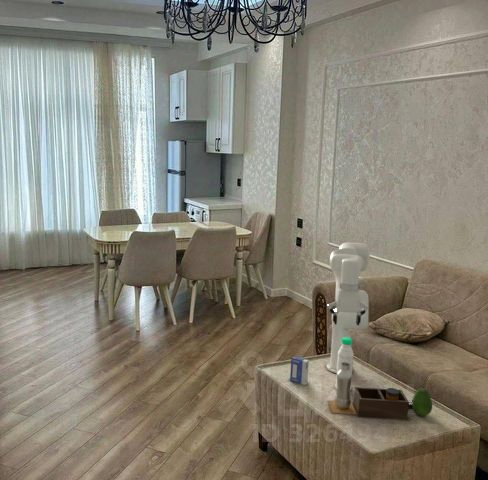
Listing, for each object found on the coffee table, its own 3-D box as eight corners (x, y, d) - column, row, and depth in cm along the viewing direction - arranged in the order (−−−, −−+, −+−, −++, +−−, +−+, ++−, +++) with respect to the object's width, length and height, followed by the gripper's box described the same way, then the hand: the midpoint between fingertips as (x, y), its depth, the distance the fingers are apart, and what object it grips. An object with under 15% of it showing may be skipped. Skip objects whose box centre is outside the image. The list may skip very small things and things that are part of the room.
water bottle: (351, 393, 247) (355, 342, 242) (335, 391, 249) (339, 340, 244) (350, 386, 254) (354, 336, 249) (334, 384, 255) (338, 335, 250)
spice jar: (383, 408, 234) (385, 387, 232) (395, 409, 233) (397, 388, 231) (386, 414, 229) (388, 393, 227) (398, 415, 228) (400, 393, 226)
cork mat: (328, 401, 240) (328, 400, 239) (351, 403, 239) (351, 402, 238) (332, 413, 230) (332, 412, 230) (356, 414, 229) (356, 413, 229)
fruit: (435, 419, 226) (438, 393, 223) (417, 420, 224) (420, 394, 222) (424, 409, 233) (427, 384, 231) (407, 411, 232) (410, 385, 230)
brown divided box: (353, 403, 238) (354, 386, 236) (399, 406, 236) (401, 389, 234) (358, 416, 227) (359, 399, 226) (407, 419, 225) (409, 402, 224)
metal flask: (352, 410, 232) (356, 366, 228) (338, 411, 230) (341, 367, 226) (346, 402, 238) (349, 360, 234) (331, 403, 237) (334, 361, 233)
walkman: (290, 380, 259) (291, 357, 257) (292, 378, 261) (293, 355, 259) (305, 385, 255) (306, 361, 252) (307, 383, 257) (309, 359, 255)
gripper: (367, 285, 238) (364, 321, 242) (327, 283, 240) (325, 320, 243) (371, 289, 231) (368, 327, 234) (330, 288, 233) (327, 325, 236)
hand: (346, 323), depth 239 cm, fingers open, 9 cm apart
